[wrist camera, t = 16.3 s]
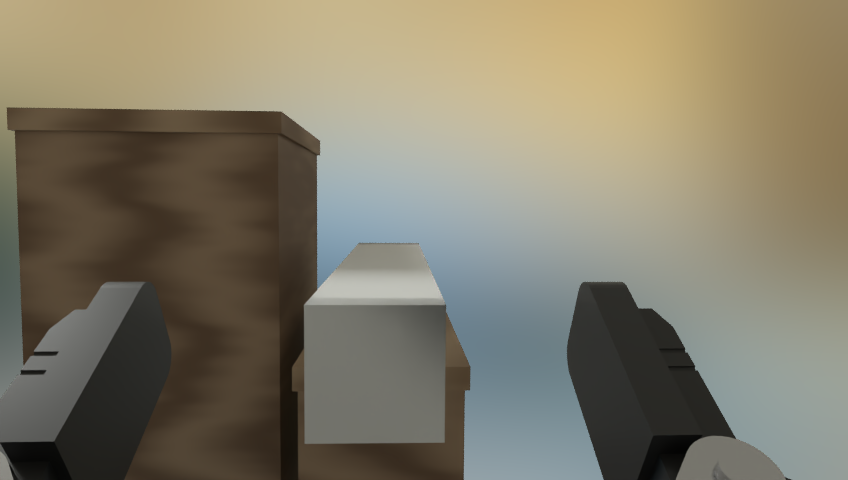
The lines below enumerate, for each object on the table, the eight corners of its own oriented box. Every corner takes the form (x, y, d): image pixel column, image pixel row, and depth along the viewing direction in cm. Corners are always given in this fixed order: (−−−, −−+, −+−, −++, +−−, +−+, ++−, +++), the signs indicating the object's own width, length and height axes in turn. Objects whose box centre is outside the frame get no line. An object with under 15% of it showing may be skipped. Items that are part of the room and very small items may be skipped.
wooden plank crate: (-25, 853, 26) (-59, 92, 24) (149, 582, 44) (139, 138, 42) (464, 834, 27) (473, 100, 25) (436, 576, 45) (440, 142, 43)
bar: (304, 444, 17) (304, 304, 17) (359, 301, 41) (359, 242, 41) (444, 442, 18) (446, 305, 17) (417, 301, 41) (418, 243, 41)
